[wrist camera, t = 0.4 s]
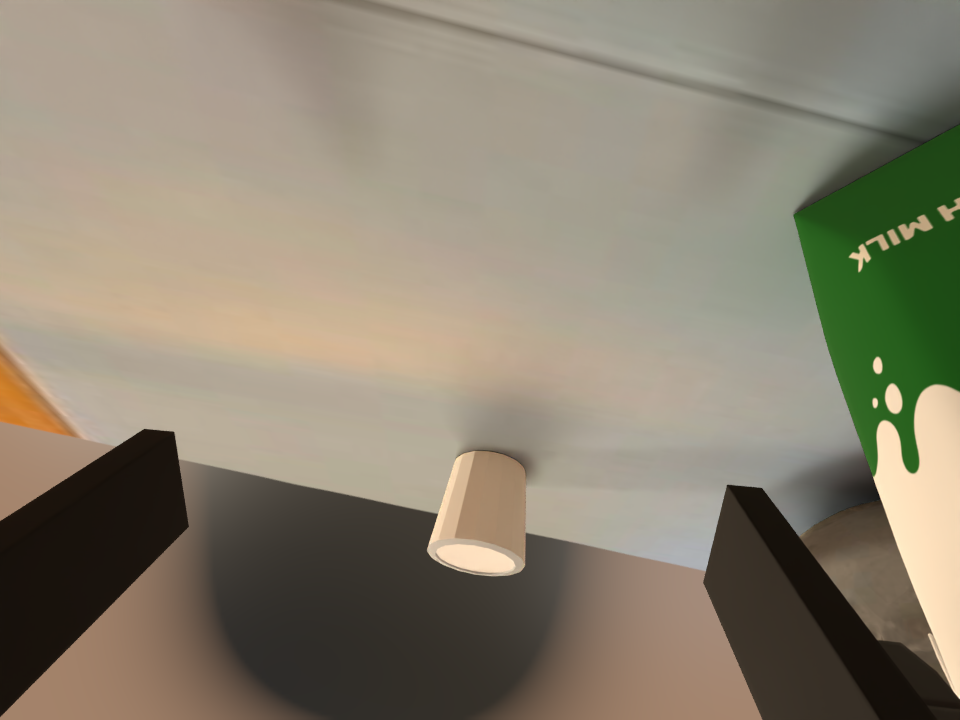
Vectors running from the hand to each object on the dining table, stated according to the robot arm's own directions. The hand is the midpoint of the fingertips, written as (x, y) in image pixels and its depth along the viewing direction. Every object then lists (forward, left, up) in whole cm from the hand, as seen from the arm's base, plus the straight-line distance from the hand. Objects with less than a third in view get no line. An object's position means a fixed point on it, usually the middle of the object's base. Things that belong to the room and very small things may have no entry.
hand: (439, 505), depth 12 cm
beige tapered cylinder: (+25, 0, -14) cm, 28 cm away
